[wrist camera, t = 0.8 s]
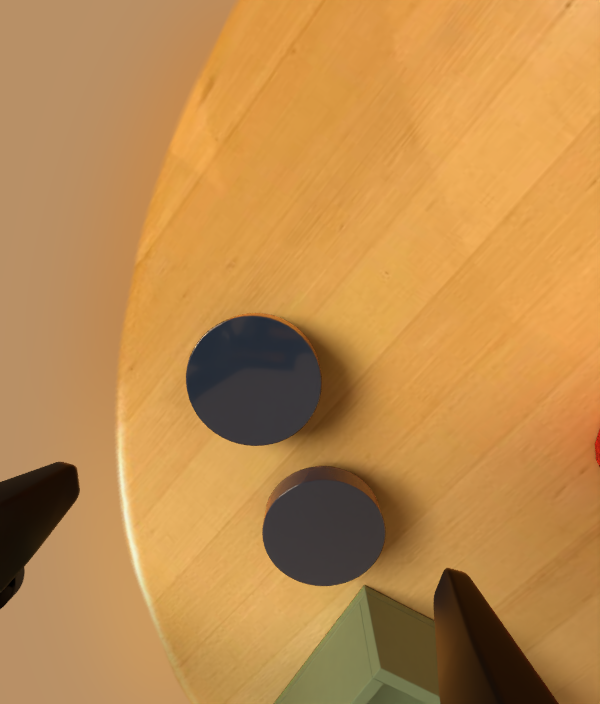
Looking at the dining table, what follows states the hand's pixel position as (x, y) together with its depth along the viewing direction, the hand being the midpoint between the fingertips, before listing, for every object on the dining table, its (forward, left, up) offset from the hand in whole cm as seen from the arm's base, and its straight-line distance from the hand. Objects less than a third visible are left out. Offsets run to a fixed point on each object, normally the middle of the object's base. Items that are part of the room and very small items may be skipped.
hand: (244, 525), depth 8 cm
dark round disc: (0, +1, -13) cm, 13 cm away
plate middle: (-6, -7, -13) cm, 16 cm away
